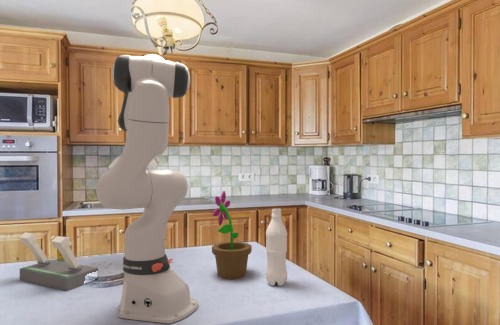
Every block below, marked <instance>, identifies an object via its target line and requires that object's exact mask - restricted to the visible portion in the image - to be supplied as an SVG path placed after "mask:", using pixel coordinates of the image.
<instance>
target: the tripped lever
mask: <svg viewBox="0 0 500 325" xmlns="http://www.w3.org/2000/svg"><path fill="white" fill-rule="evenodd" d="M67 237H68V236H59V235H56V236H55V237H54V238H53V239H51V241H50V243H51V245H52V246H53V247H54V248H55V249H57V248H58V250H59V252H60V253H61V255H62V257H63V258H64V260H65V262H66V264H67V265H68V269H70V270H76V271H80V270H81V269H82V266H80V265H81V264H80V263H79V261H78V260H77V258H76V256H75V254H74V252H73V250H72V251H71V249H70V247H69V244H70V243H69V242H70V241H68V239H67Z"/></svg>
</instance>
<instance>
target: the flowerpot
mask: <svg viewBox="0 0 500 325" xmlns="http://www.w3.org/2000/svg"><path fill="white" fill-rule="evenodd" d="M220 195H221V196H220V197H219V196H215V198H214V199H215V200H214V202H215V204H216V206H217V208H216V209H214V211H213V213H212V216H213V217H218V220H217V222H218V226H221V227H220V228H218V230H217V231H218V233H220V234H223V235H224V234H230V235H229V236H230V240H229V241H223V242H218V243H215V244H213V245H212V246H211V253H212V254H213V255H214V257H215V264H216V271H217V276H218V277H219V278H220V277H221V279H224V280H238V279H237V278H239V279H242V278H244V277H245V276H246V275H247V271H248V270H247V268H248V261H249V255H251V253H252V251H253V249H252V245H251V244H250V243H248V242H243V241H234V240H235V239H238V237H239V235H240V233H239V232H234V228H233V222H232V218H231V215H230V214H229V210H228V209H227V208H229V207H230V204H231V200H228V199H227V200H226V197H227V194H226V191H225V190H223V191H222V193H221V194H220ZM218 207H219V208H218ZM224 219H225V220H228V224H227V223H226V224H224V225H223V226H222V224H223V221H224ZM241 277H242V278H241Z"/></svg>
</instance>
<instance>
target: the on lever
mask: <svg viewBox="0 0 500 325" xmlns="http://www.w3.org/2000/svg"><path fill="white" fill-rule="evenodd" d="M18 239H19V240H20V242H22V244H25V245H26V247H27V248H28V249H29V251H30V252H31V254H32V255H33V257H34V258H35V260H36V261H37V263H36V264H38V263H39V264H44V265H49V264H50V260H51V259H49V258H47V256H46V254H45V253H44V251H43V249H42V248H41V246H40V245H39V244H38V242H37V240H38V237H36V235H35V234H34V233H33V232H26V231H25V232H24V233H23V234H21V235H20V236H19V237H18Z"/></svg>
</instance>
